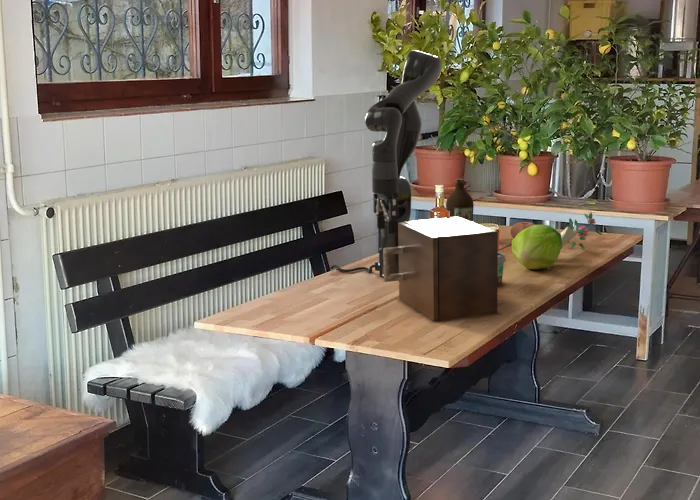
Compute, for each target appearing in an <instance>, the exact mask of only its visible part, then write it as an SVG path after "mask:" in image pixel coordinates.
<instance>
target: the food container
mask: <svg viewBox="0 0 700 500" xmlns="http://www.w3.org/2000/svg"><path fill="white" fill-rule="evenodd" d="M506 261H507V259H506V255H505V253H504V252H503V251H499V250H498V278H497V288H500V287H501V286H503V275H504V274H503V273H504V265H505V264H504V263H505V262H506Z"/></svg>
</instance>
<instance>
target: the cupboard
mask: <svg viewBox="0 0 700 500" xmlns="http://www.w3.org/2000/svg"><path fill="white" fill-rule="evenodd" d="M403 223H405V224H408V225H410V226H412V227H415V228H417V229H419V230H422V231H424V232H426V233H428V234H431V235H433V236H435V237H438V316H439V322H440V321H447V320H448V321H449V320H459V319H465V318H473V317H480V316H489V315H497V314H498V287H497V278H498V251H499V246H498V245H499V231H498V230H495V229H493V228H490V227H487V226H484V225H482V224H478V223H476V222H474V221H473V222H471V221H468V220H465V219H463V218H460V217H450V218H447V217H440V218H429V219H418V220H417V219H416V220H409V221H405V222H403Z"/></svg>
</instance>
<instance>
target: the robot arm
mask: <svg viewBox="0 0 700 500" xmlns="http://www.w3.org/2000/svg"><path fill="white" fill-rule="evenodd" d="M403 64H404V65H403V69H402V74H401V82H400V83H399V84H398V85H396V86H394V87H393V88H392V89H391V90H390V92H388V94H387V95H386V96H385V98H383V99H381V100H379V101H377V102H376V103H374V104H373V105H371V106H370V108H368V110H367V111H366V114H365V116H364V125H365V126H366V128H367V129H368V130H369V131H371V132H374V133H375V132H376V133H384V132H385V136H384V138H383V139H378V140H375V141H373V143H372V144H371V145H372V146H371V154H372V155H371V156H372V163H371V189H372V190H371V191H372V193H373V194H372V197H373V203H372V204H373V214H375V216H376V228H377V229H379V230H380V247H379V249H378V259H377V261H374V264H372V265H371V264H370V266H369V267H367V266H358V267H354V268H347V269H344V268H341V267H340V266H339V265H337V264H333V265H331V266H330V267H329V269H330V270H333V269H334V268H335V269H336V270H338V271H339V272H342V273H351V272H357V271H361V270H362V271H363V270H364V271H367V273H368V274H371V273H373V268H374V271H375V272H379V274H378V275H379V277H381V278H384V257H383V248H389V247H398V223H399V222H405V221H410V218H411V215H412V188H411V185H410V182H409V181H408V179H407V178H405V177H403V176H401V173H402V171H403V168H404V166H405V164H406V163H407V161H408V160H409V159H410V157H411V156H412V154H413V153H414V151H415V149H416V147H417V145H418V143H419V140H420V135H421V130H422V124H423V123H422V118H421V115H420V112H419V109H418V105H417V103H416V99H417V98H420V96H421V95H422V94H424V93H426V92H427V91H428V90H429V89H430V88H432V87H433V86H434V85H435V84H436V83H437V81H438V80H439V78H440V75H441V73H442V69H443V68H442V67H443V62H442V60H441V58H440V57H438V56H436V55H433V54H431V53H426V52H423V51H420V50H416V49H413V50H410V51H409V52H408V54H407V55H406V58H405V60H404V63H403ZM397 273H399V254H391V255H390V274H397Z"/></svg>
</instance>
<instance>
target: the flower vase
mask: <svg viewBox="0 0 700 500" xmlns="http://www.w3.org/2000/svg"><path fill="white" fill-rule="evenodd" d="M583 215H584V218H586V221H587V225H579V223H578V220H577V219H574V221H573V219H572V218H571V217H569V219H568V223H569V225H570V226H564V229H563V230H562V231H561V232H559V233H560V234H561V238H562V248H563V247H565V246H566V245H567V244H569V243H570V242H571V240H572V239H575V240H578V239H579V240H580V241H586V239H587V238H586V236H589V229H590V230H592V228H591V227H592V226H594V227H593V229H597V228H600V226H599V225H596V219H595V218H594V217H593V213H592V211H590V213H589V214H586V213H584V214H583ZM573 224H574V226H573ZM578 225H579V226H578ZM577 226H578V227H577ZM589 226H591V227H589ZM575 227H577V229H576V231H575ZM595 232H596V234H598V235H600V236H602V235H603V234H602V232H601V231H600V230H599V229H597V230H595ZM576 236H577V237H579V238H577V237H576ZM577 243H578V246H579V247H580V248H582V249H585V246H584V244H583V243H582V242H580V243H579V242H577ZM577 243H576V242H575V241H572V243H571V246H570V249H573V248H575V246H576V245H577Z"/></svg>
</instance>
